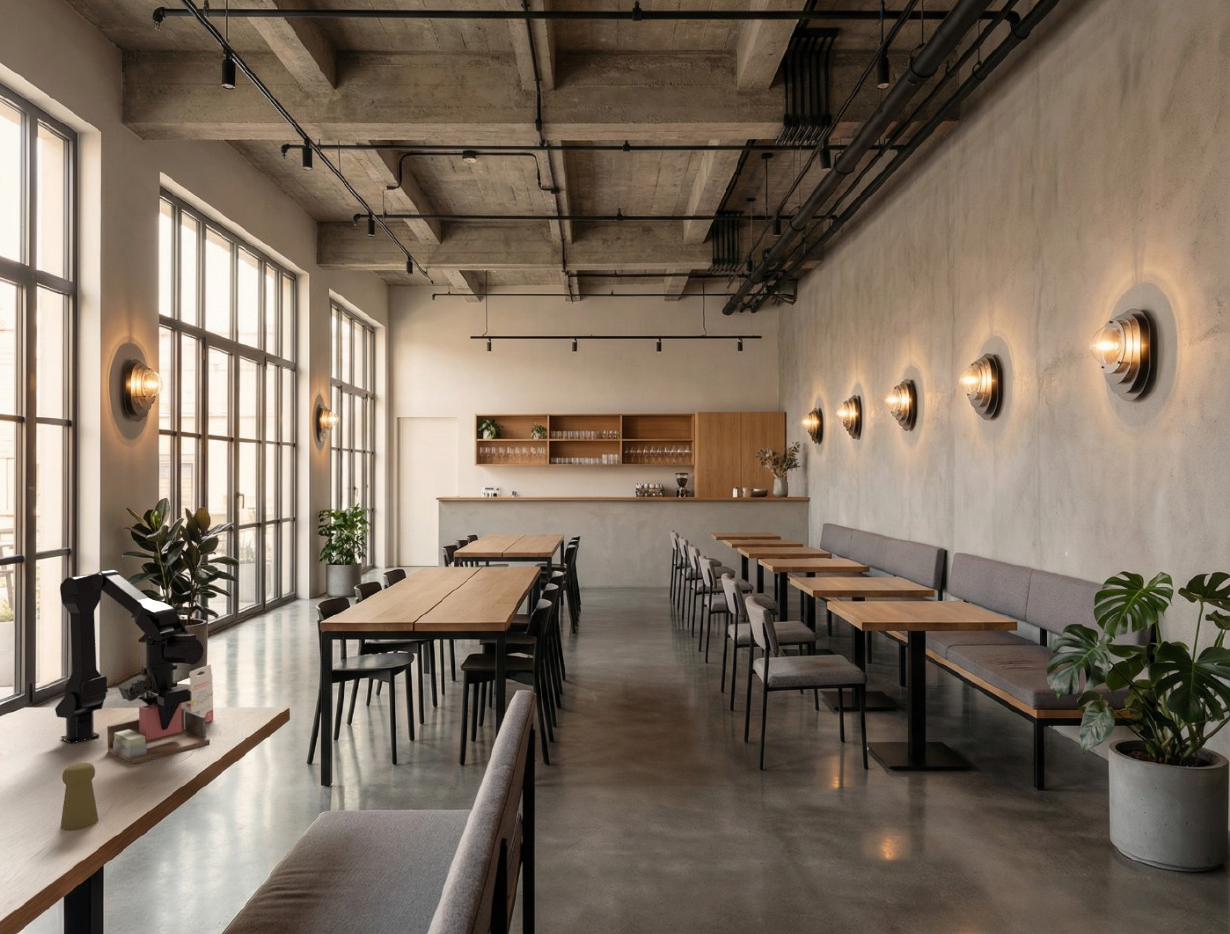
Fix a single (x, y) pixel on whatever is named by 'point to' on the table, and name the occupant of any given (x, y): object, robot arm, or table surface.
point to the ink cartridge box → (199, 693)
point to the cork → (79, 797)
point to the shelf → (155, 739)
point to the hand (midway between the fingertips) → (160, 727)
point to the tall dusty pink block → (157, 722)
